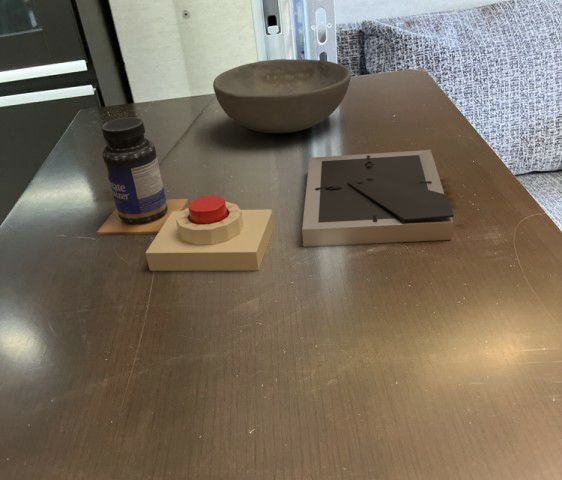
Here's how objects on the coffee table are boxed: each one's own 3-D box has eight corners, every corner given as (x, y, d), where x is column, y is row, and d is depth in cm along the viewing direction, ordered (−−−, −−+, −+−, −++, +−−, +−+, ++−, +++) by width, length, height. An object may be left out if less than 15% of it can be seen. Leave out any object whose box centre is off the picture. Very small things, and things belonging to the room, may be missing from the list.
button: (186, 227, 66) (183, 211, 65) (196, 210, 69) (193, 195, 68) (222, 226, 65) (220, 211, 64) (231, 210, 68) (228, 195, 67)
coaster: (97, 235, 75) (96, 232, 75) (123, 203, 82) (122, 200, 82) (168, 234, 73) (167, 231, 73) (188, 201, 80) (188, 198, 80)
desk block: (149, 271, 67) (141, 237, 64) (176, 228, 74) (169, 196, 72) (258, 270, 65) (254, 235, 62) (274, 226, 72) (271, 193, 70)
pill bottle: (110, 216, 78) (85, 125, 71) (152, 199, 81) (131, 111, 74) (135, 230, 74) (110, 136, 67) (178, 212, 77) (158, 120, 70)
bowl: (228, 112, 108) (221, 62, 103) (348, 101, 107) (347, 50, 102) (213, 156, 92) (203, 99, 87) (355, 145, 90) (354, 86, 85)
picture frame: (451, 240, 66) (429, 165, 82) (453, 215, 64) (431, 143, 80) (303, 247, 68) (310, 173, 84) (301, 223, 66) (308, 152, 82)
